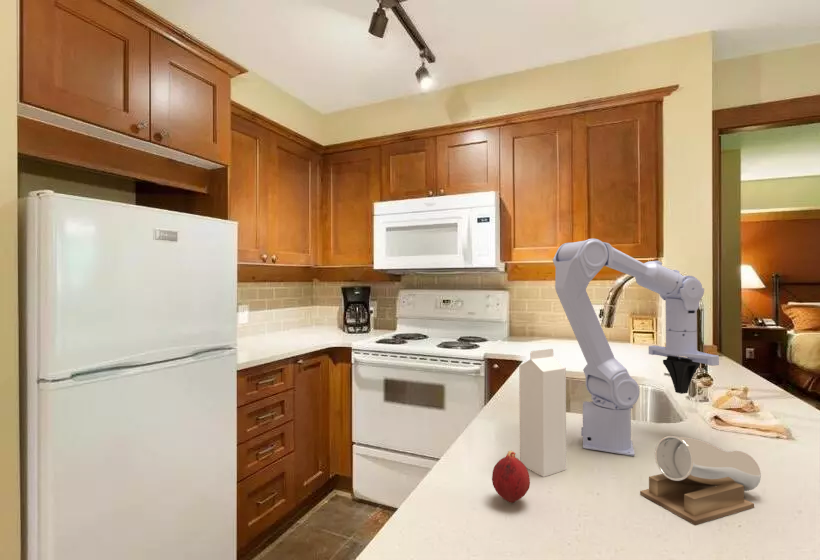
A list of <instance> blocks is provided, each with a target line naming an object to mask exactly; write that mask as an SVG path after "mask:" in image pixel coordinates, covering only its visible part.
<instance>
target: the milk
mask: <svg viewBox="0 0 820 560" xmlns="http://www.w3.org/2000/svg"><path fill="white" fill-rule="evenodd" d="M518 368H519V375H518V379H519V380H518V381H519V382H518V383H519V386H518V387H519V388H518V389H519V391H518V392H519V398H518V399H519V460H520V461H521V462H522V463H523V464H524V465H525V467H526V468H527V470H529V469H530V470H529V471H531V470H532V472H533V473H535V474H537V475H539V476H540V477H542V478H545V477H548V476H551V475H554V474H557V473H560V472H563V471H566V470H567V392H566V391H567V385H566V384H567V379H566V377H567V375H566V374H567V373H566V372H567V370H566V367H565V366H564V364H563V363H561V362H560V361H559V360H558V359H557V358H556V357H555V356H554V348H547V349H545V348H544V349H538V350H532V351H530V359H529V360H527V361H525V362H524V363H520V364H519V366H518Z"/></svg>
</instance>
